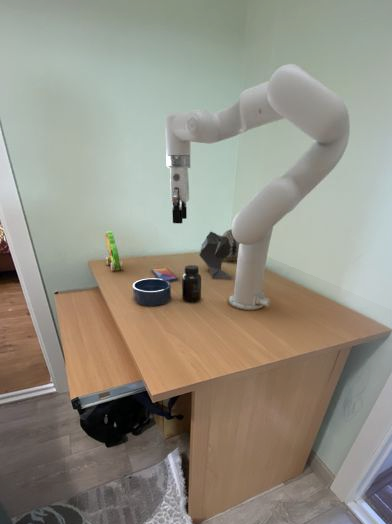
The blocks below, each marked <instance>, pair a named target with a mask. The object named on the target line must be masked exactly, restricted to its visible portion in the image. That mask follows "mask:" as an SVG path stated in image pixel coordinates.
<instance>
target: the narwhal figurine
mask: <svg viewBox="0 0 392 524" xmlns="http://www.w3.org/2000/svg"><path fill="white" fill-rule="evenodd" d="M230 250H231V244H230V242H229V239H228V238H227V237H226V236H222V235H220V234H217V233H216V232H214V231H209V233H208V235H206V238H205V240H204V241H203V242H202V244H201V247H200V251H199V257H200V258H201V260H202V261H203V262H204V263H205V265H206V266H207V273H210V274H211V276H212V279H213V280H233V277H232V276H230V275H229V274H227V273H226V272H224V271H223V270H222V264H223V261H224V258H225V257H227V256H228V255H229V253H230V252H231V251H230Z"/></svg>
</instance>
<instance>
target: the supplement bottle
mask: <svg viewBox="0 0 392 524" xmlns="http://www.w3.org/2000/svg"><path fill="white" fill-rule="evenodd" d="M199 271H200V270H199V266H198V265H195V264H189V265H188V264H187V265H185V266H184V274H182V277H181V298H182V301H183V302H185V303H192V304H193V303H198V302H200V300H201V299H202V275H201V274H200V273H199Z"/></svg>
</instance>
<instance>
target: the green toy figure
mask: <svg viewBox="0 0 392 524" xmlns="http://www.w3.org/2000/svg"><path fill="white" fill-rule="evenodd" d="M105 244H106V248H107V252H108V256H106V257H105V261H106V266H110V270H111V272H115V271H117V270H120V271H123V270H124V264H123V262H122V261H120V255H119V251H118V247H117V245H116V241H115V237H114V234H113V232H112V231H105Z"/></svg>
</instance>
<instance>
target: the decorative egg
mask: <svg viewBox="0 0 392 524" xmlns="http://www.w3.org/2000/svg"><path fill="white" fill-rule="evenodd" d="M221 236H226V237H227V238H228V239H229V242H230V244H231V250H230V251H231V252H230V253H229V255H228V256H227V257H225V258H224V259H223V261H225V262H234V261H236V260H237V259H238V250H239V244H240V243H238V242H237V241H236V240H235V239H234V237H233V235H232V228H231V229H228V230H226V231H225V232H223V234H222V235H221Z"/></svg>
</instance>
